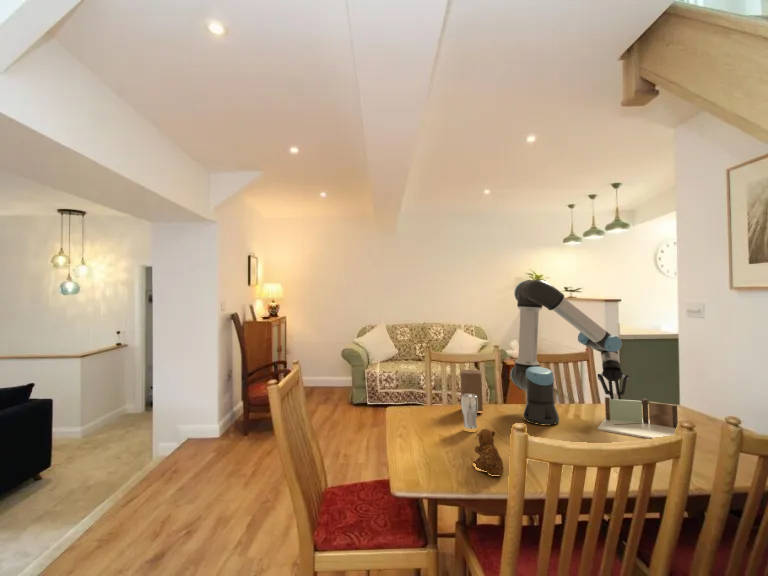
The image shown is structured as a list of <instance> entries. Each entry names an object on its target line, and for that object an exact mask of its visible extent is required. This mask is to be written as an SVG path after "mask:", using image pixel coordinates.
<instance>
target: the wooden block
mask: <svg viewBox="0 0 768 576" xmlns="http://www.w3.org/2000/svg"><path fill="white" fill-rule="evenodd" d="M482 383H483V379H482V371H481V369H462V370H461V372H460V390H461V391H460V393H461V398H462V394H475V395H477V401H478V411H484V410H483V409H484V408H483V384H482Z"/></svg>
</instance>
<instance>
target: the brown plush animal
mask: <svg viewBox="0 0 768 576" xmlns="http://www.w3.org/2000/svg"><path fill="white" fill-rule="evenodd" d="M496 434H497V431H495V430H491V429H487V428H483V429H481V430H480V431H479V432H477V433H476V436H475V437H474V438H473V440H474V439H475V440H478V444H479V445H476V446H474V451H475V453H477V454H478V455H479V456H478V457H477V458H476V460H475V461H472V462H473V463H475V464H476V467H477V468H479V469H481V470H484V471H487V473H489V474H491V475H500V476H499V477H502V476H503V475H504V464H503V459H502V458H501V456H500V454H499V451H498V448H497V447H496V445H495V443H494V442H495V440H494V437H495V436H496ZM477 438H478V439H477ZM487 473H486V474H487Z"/></svg>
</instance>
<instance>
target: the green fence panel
mask: <svg viewBox="0 0 768 576" xmlns="http://www.w3.org/2000/svg"><path fill="white" fill-rule="evenodd" d="M604 404H605V405H604V406H605V410H604V411H605V418H606V420H617V421H630V422H642V419H643V408H642V400H633V399H621V400H619V399H610V396H609V397H607V396H606V397H604Z"/></svg>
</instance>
